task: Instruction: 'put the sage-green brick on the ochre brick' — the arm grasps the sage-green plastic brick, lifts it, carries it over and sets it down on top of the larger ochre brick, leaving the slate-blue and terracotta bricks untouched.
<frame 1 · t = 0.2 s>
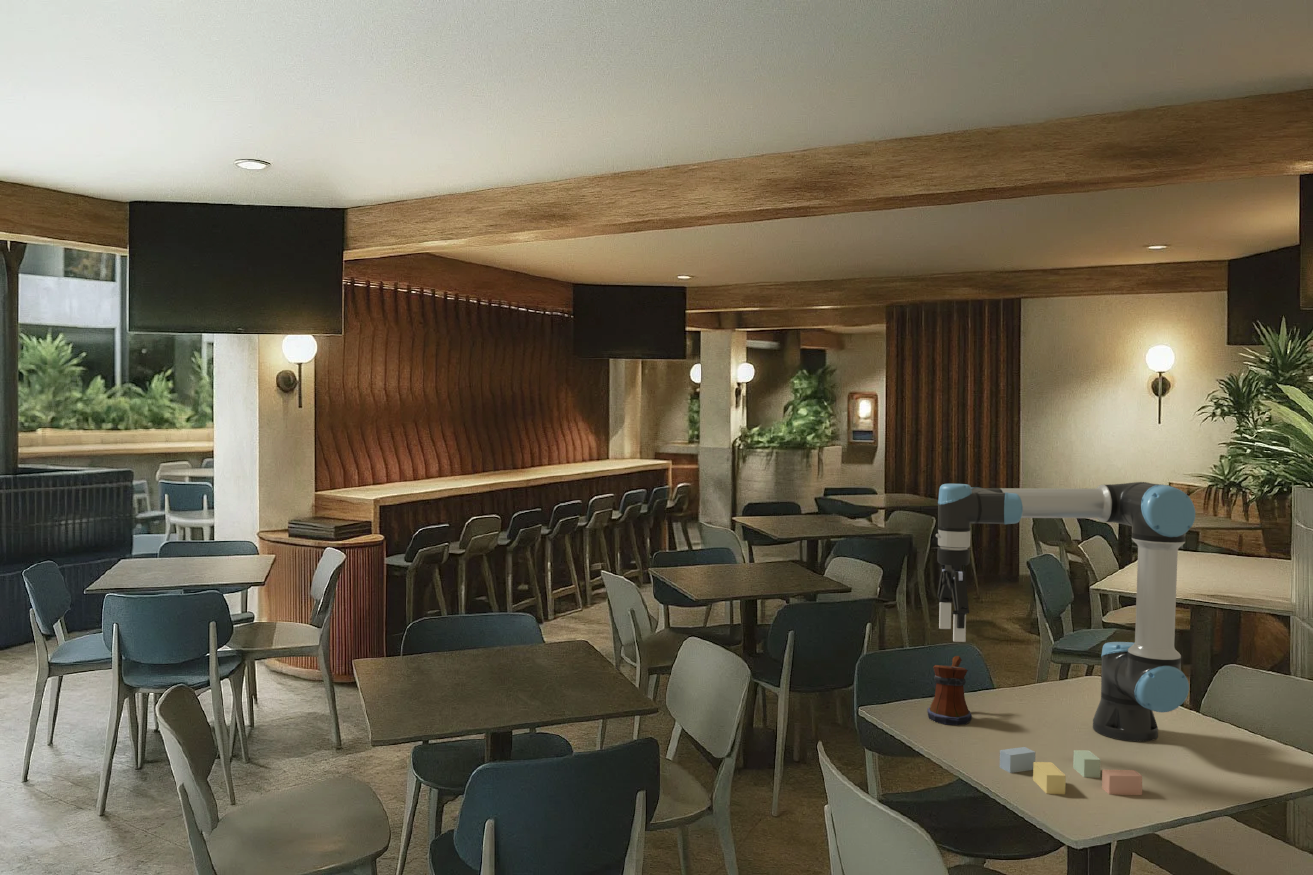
hand: (951, 634, 242), 28 cm above the table, fingers open, 13 cm apart
terracotta brick: (1121, 791, 217), on the table
mug: (951, 716, 269), on the table
sage brick: (1086, 772, 228), on the table
slate brick: (1017, 768, 230), on the table
ochre brick: (1048, 787, 219), on the table
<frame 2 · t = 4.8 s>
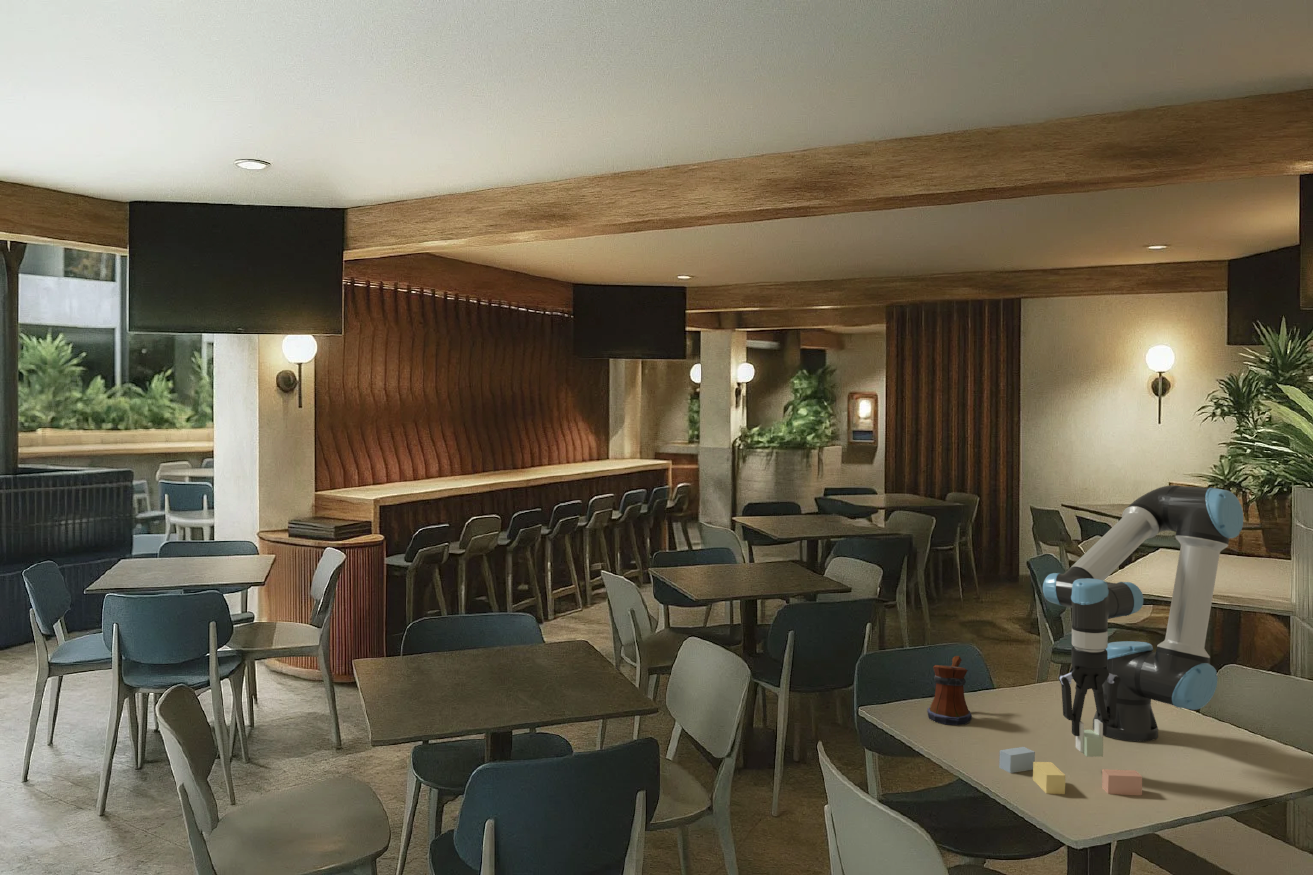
hand: (1089, 749, 228), 5 cm above the table, fingers closed on sage brick, 4 cm apart
sage brick: (1089, 751, 228), point 5 cm above the table, touching gripper
everything else where it was.
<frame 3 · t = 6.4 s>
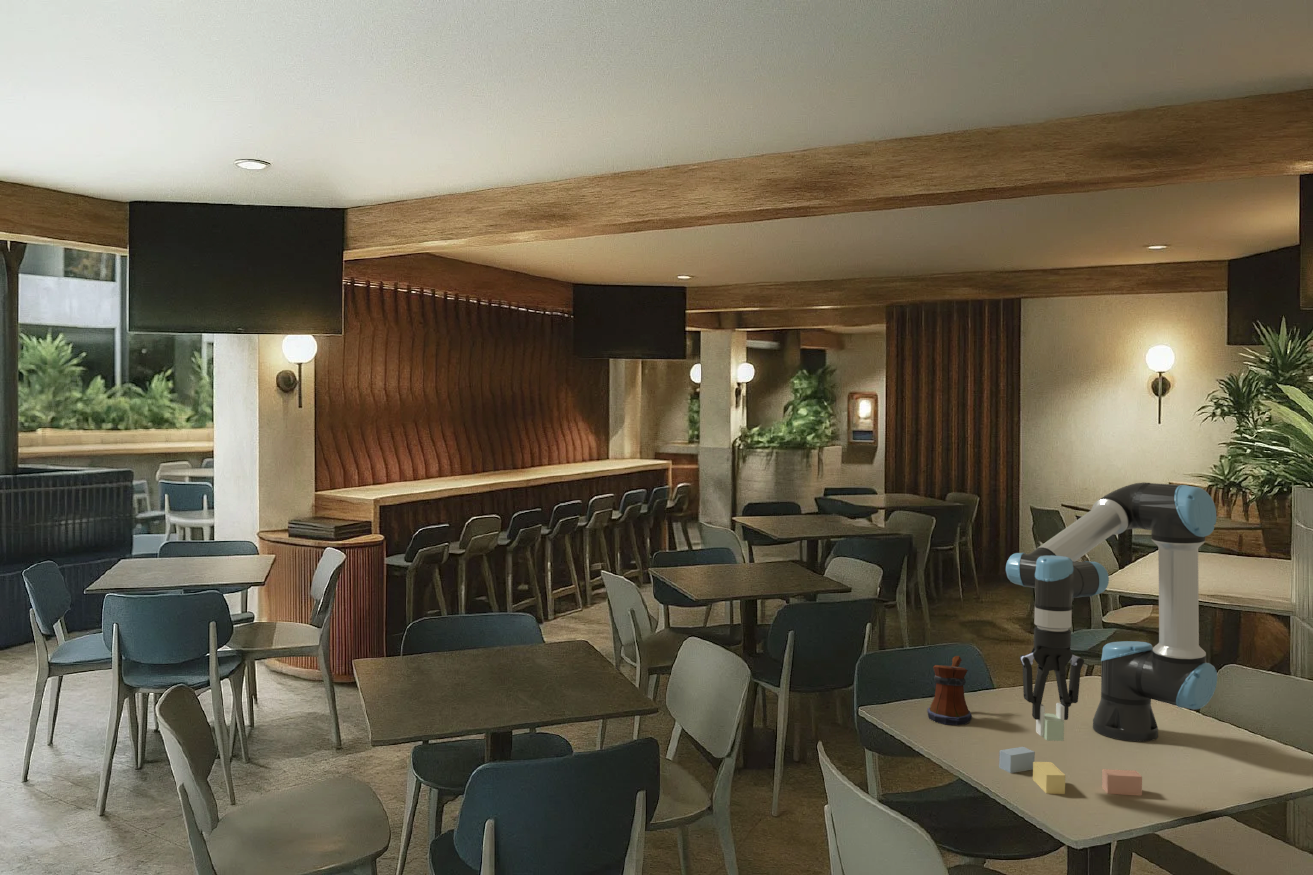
hand: (1049, 733, 218), 12 cm above the table, fingers closed on sage brick, 4 cm apart
sage brick: (1049, 736, 218), point 11 cm above the table, touching gripper
everything else where it was.
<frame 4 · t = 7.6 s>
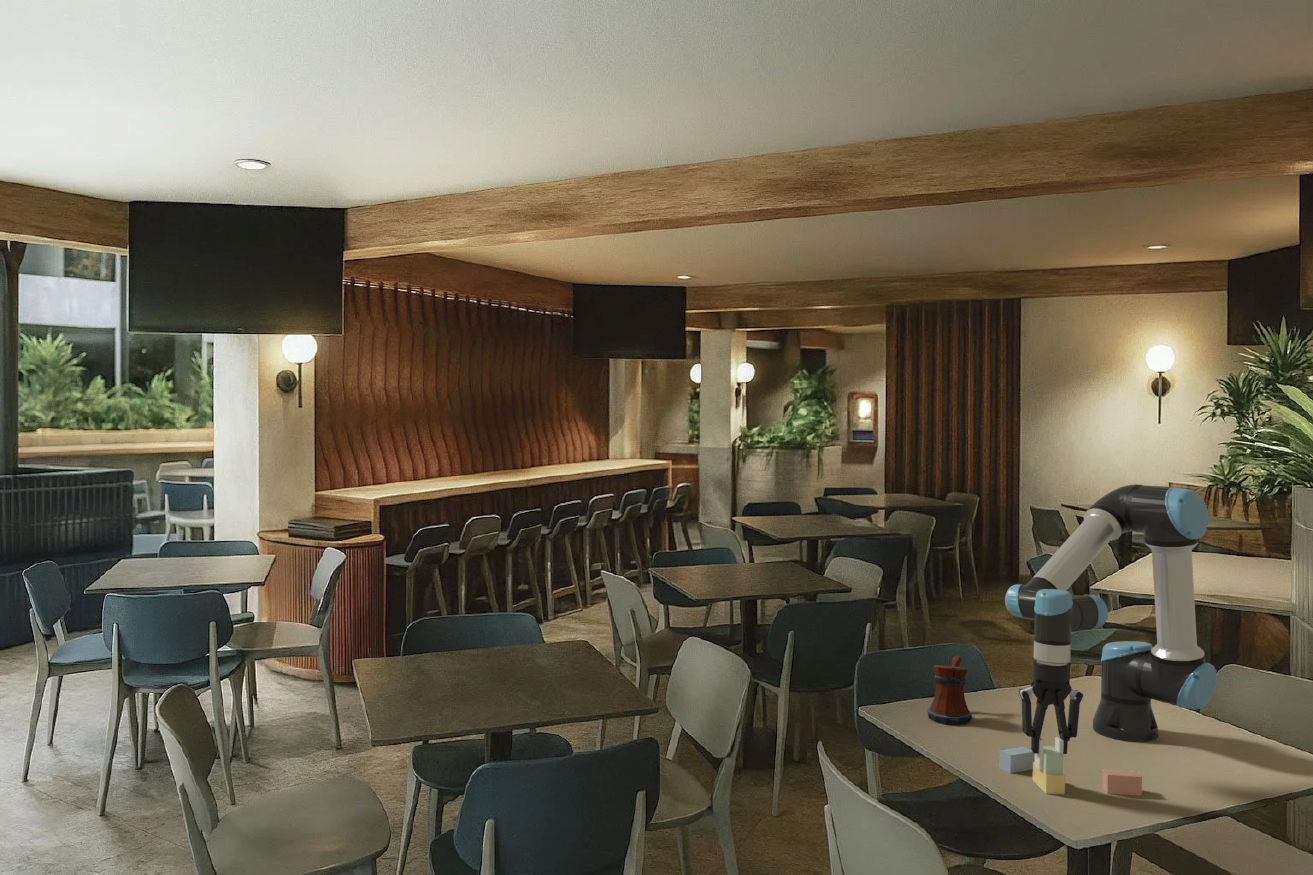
hand: (1048, 767, 218), 4 cm above the table, fingers closed on sage brick, 4 cm apart
sage brick: (1048, 769, 218), point 4 cm above the table, touching gripper
ochre brick: (1048, 787, 219), on the table, touching gripper
everything else where it was.
when the fingers open (4 cm above the table, at t = 8.0 s): sage brick stays where it is, resting on ochre brick.
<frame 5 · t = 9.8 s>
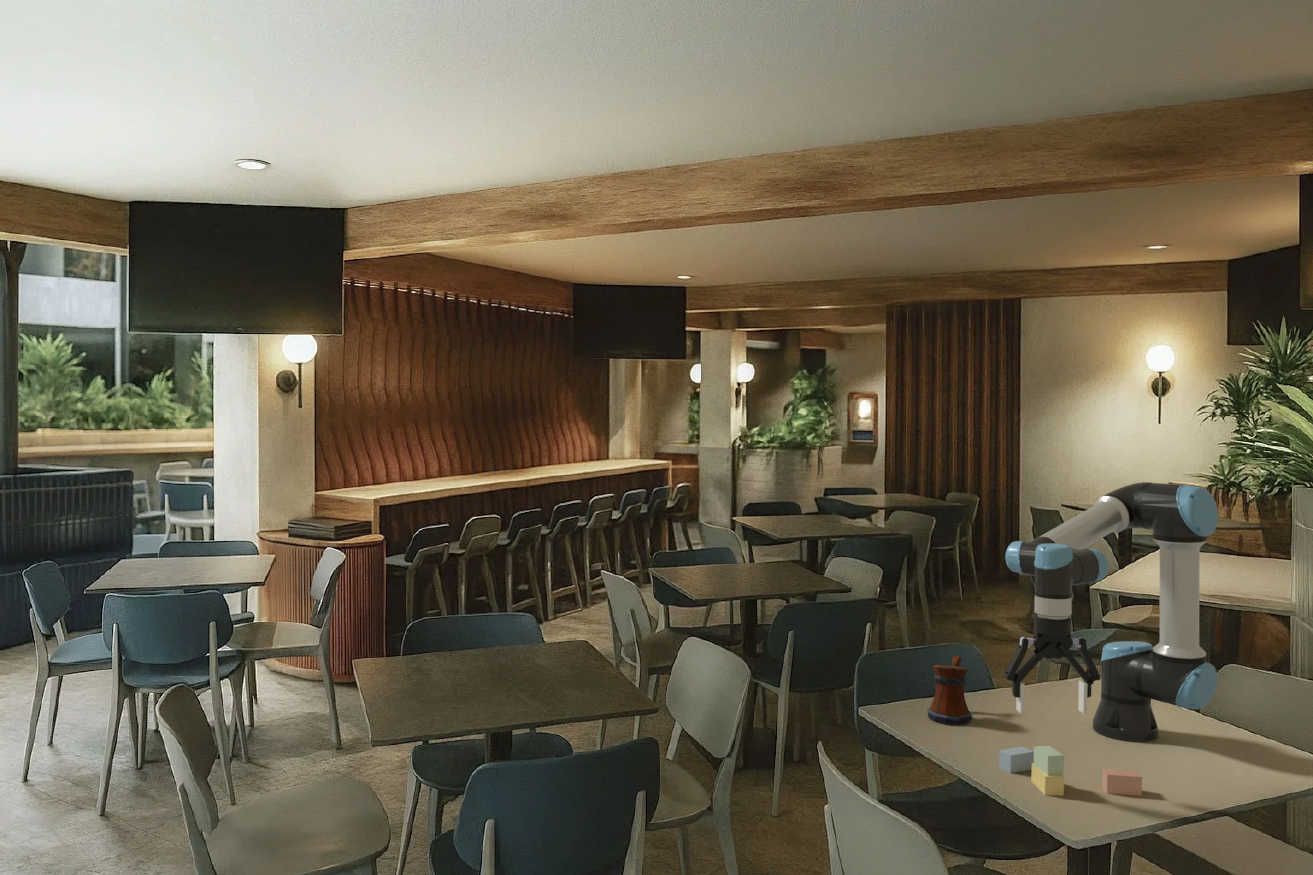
hand: (1051, 711, 218), 16 cm above the table, fingers open, 13 cm apart
sage brick: (1048, 769, 218), point 4 cm above the table, touching ochre brick
ochre brick: (1047, 788, 218), on the table, touching sage brick
everything else where it was.
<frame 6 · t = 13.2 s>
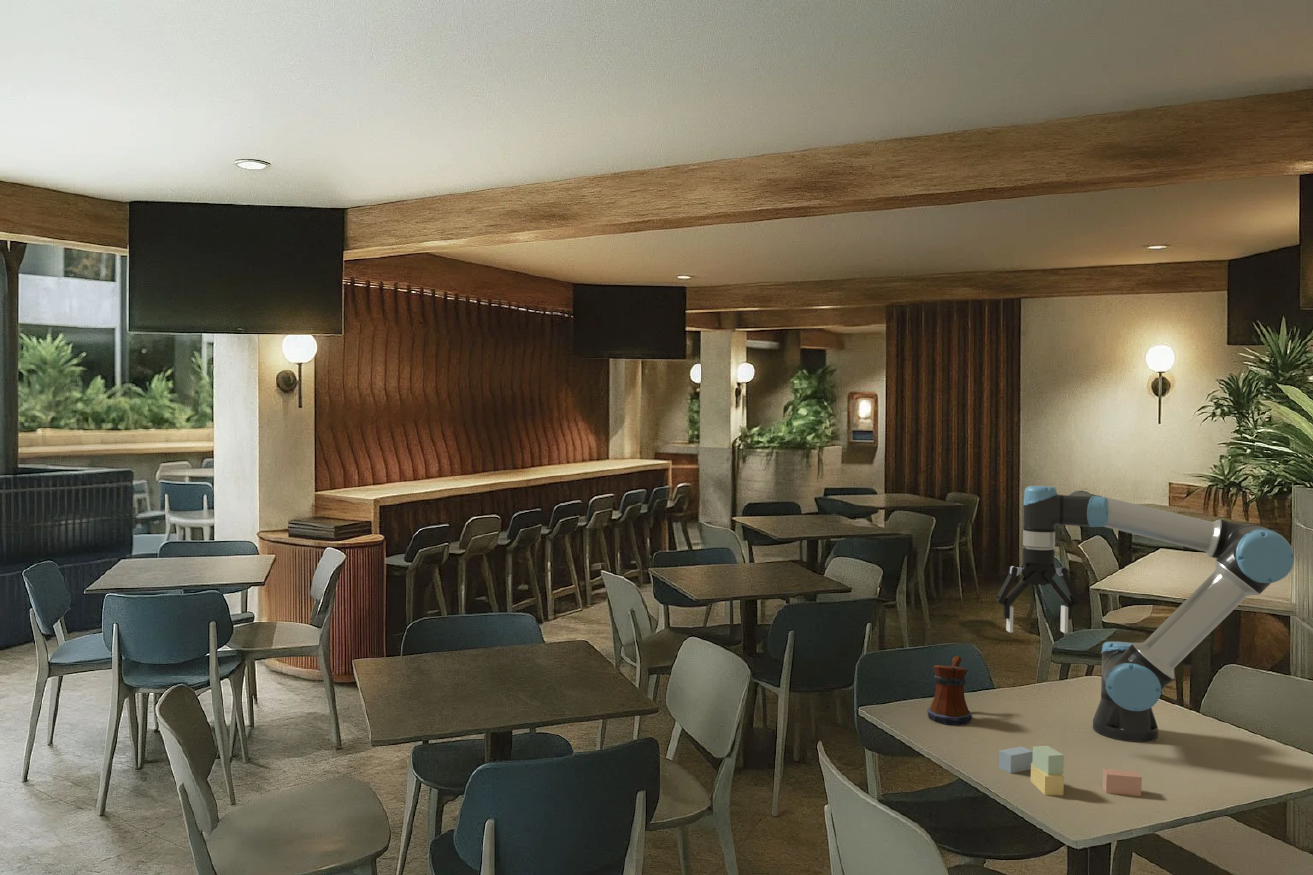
hand: (1036, 631, 251), 27 cm above the table, fingers open, 13 cm apart
nothing on the table moved.
at the end: sage brick 0.1 cm off-centre on the ochre brick, point 4.2 cm above the ochre brick's base; slate brick moved 0.4 cm from its start; terracotta brick moved 0.2 cm from its start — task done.
